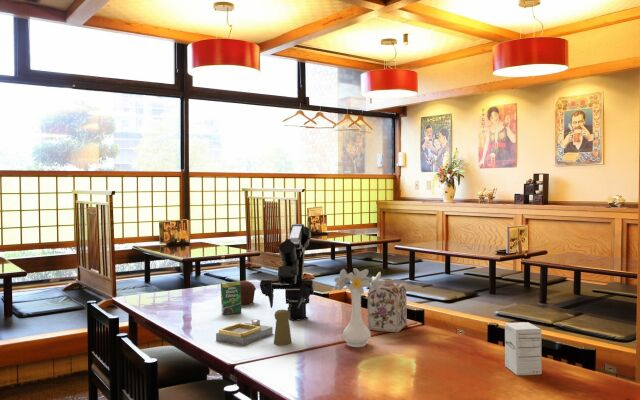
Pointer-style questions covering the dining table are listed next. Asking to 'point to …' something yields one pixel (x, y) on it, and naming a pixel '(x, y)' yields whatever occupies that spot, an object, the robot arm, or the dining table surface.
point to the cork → (282, 328)
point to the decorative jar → (387, 307)
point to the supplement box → (523, 348)
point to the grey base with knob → (243, 333)
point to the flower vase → (357, 304)
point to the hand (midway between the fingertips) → (284, 307)
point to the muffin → (247, 292)
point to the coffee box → (231, 298)
